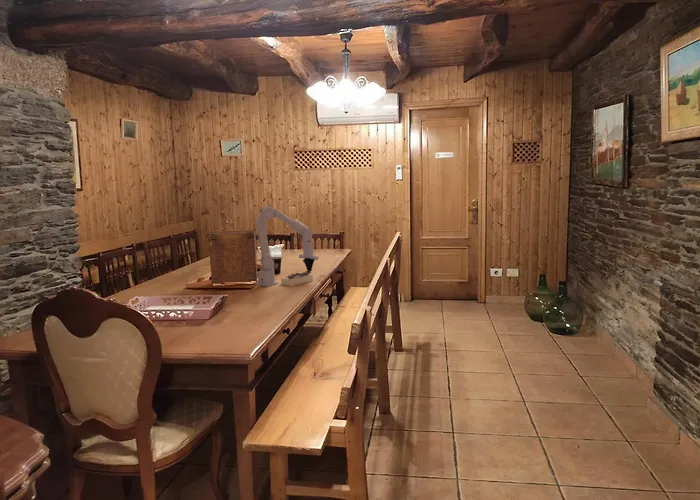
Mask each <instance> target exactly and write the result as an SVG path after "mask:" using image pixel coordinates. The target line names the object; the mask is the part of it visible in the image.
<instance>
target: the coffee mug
mask: <svg viewBox="0 0 700 500" xmlns="http://www.w3.org/2000/svg"><path fill="white" fill-rule="evenodd" d="M271 258H272V260H273V261H274V266H273V267H274V276H275V275H276V276H277V275H280V274H281V271H282V257H281V256H271Z"/></svg>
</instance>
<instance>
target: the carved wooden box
mask: <svg viewBox="0 0 700 500" xmlns="http://www.w3.org/2000/svg"><path fill="white" fill-rule="evenodd" d="M207 236H208V250H209V262H210V265H209V266H210V275H211V276H210V277H211V280H210V281H211V284H212V283H224V282H251V281H256V282H257V283H258V281H257V278H258V262H257V261H258V260H257V259H258V257H257V243H256V240H257V239H256V230H254V229H251V230H234V231H233V230H231V231H230V230H229V231H226V230H225V231H211V232H210V233H208V235H207Z"/></svg>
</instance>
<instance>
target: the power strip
mask: <svg viewBox="0 0 700 500" xmlns="http://www.w3.org/2000/svg"><path fill="white" fill-rule="evenodd" d="M280 280H281V281H280V282H281V283H280V284H281V285H284V286H289V287H291V286H292V287H293V286H296V285H301V284H304V283H309V282H313V281H314V275H313V274H311V273H310V274H308V275H304V276H298V275H296V277H294V278H292V279H290V278H288V276H285V277H284V276H283V277H281V278H280Z"/></svg>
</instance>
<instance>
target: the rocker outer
mask: <svg viewBox="0 0 700 500" xmlns="http://www.w3.org/2000/svg"><path fill="white" fill-rule="evenodd" d="M311 272H312V271H307V270H305V271H303V272H301V273H302V274H304V275H308V274H311Z"/></svg>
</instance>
